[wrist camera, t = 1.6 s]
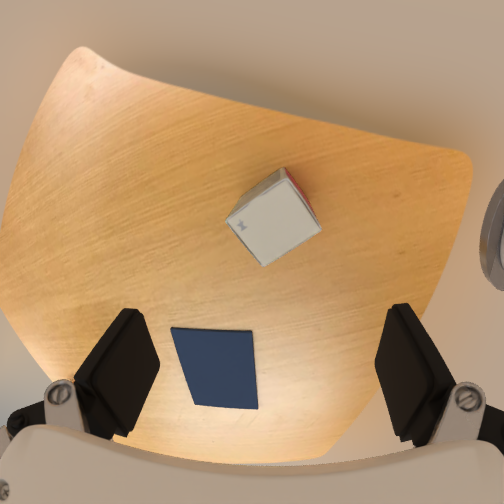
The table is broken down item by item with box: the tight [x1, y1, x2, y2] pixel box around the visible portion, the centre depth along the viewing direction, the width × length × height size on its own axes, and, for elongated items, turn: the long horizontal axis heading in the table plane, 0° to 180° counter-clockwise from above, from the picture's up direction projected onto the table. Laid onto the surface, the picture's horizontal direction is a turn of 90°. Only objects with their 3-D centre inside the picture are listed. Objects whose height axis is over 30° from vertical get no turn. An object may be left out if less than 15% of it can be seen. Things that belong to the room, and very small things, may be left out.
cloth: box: [170, 327, 258, 409], centre depth 35 cm, size 10×16×1 cm, turn 3°
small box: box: [225, 167, 322, 267], centre depth 21 cm, size 5×4×8 cm
